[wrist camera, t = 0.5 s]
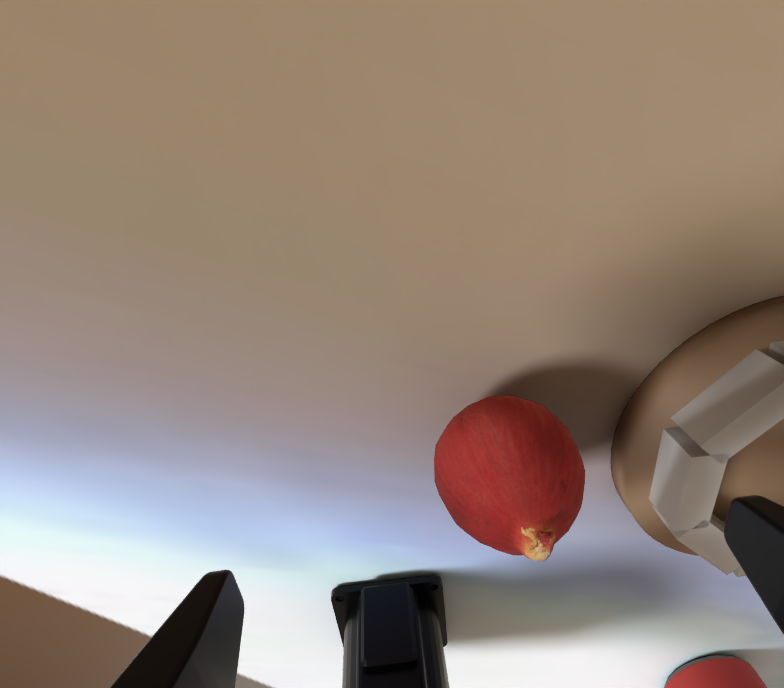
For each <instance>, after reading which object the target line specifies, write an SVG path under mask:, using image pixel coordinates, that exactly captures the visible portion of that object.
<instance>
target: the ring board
mask: <svg viewBox="0 0 784 688" xmlns="http://www.w3.org/2000/svg"><path fill="white" fill-rule="evenodd" d="M611 471H612V478H613V481H614V484H615V488H616V490H617V492H618V494H619V496H620V497H621V499H622V501H623V502H624V504H625V505H626V507H627V508H628V510H629V511H630V513H631V514H632V515H633V517H634V518H635V520H636V521H637V523H638V524H639V525H640V526H641V527H642V529H643V530H644V531H645V532H646V533H647V534H648V535H650V536H651V537H652V538H653V539H655V540H656V541H658V542H660V543H661V544H663V545H665V546H667V547H669V548H672V549H674V550H677V551H680V552H684V553H688V554H692V555H698V556H701V557H702V558H704V559H705V560H707V561H708V562H709V563H711V564H712V565H714V566H715V567H717V568H718V569H719V570H721V571H722V572H724V573H725V574H726V575H728V574H729V573H731V572H734V573H735V575H736V576H737V577H738V576H746V574H745V572H744V571H743V569H742V568H741V566H740V564H739V563H738V561H737V560H736V558H735V556H734V555H733V553H732V551H731V550H730V548H729V547H728V545H727V543H726V540H725V537H724V526H725V522H726V518H727V514H728V510H729V506H730V503H731V501H732V500H733V499H734V498H737V497H743V496H750V495H759V496H762V497H765V498H767V499H769V500H771V501H773V502H776V503H778V504H780V505H782V506H784V296H781V297H776V298H773V299H770V300H766V301H763V302H759V303H756V304H753V305H751V306H748V307H746V308H744V309H741V310H739V311H736V312H734V313H732V314H730V315H728V316H726V317H724V318H722V319H720V320H718V321H716V322H714V323H712V324H711V325H709V326H707V327H706V328H704V329H703V330H701V331H700V332H698V333H697V334H695V335H693V336H692V337H690V338H689V339H688V340H687V341H685V342H684V343H683V344H681V345H680V346H679V347H678V348H676V349H675V350H674V351H672V352H671V353H670V354H669V355H668V356H667V357H666V358H665V359H664V360H663V361H662V362H661V363H660V364H659V365H658V366H657V367H655V369H654V370H653V371H652V372H651V373H650V374H649V376H648V377H647V378H646V379H645V380H644V381H643V383H642V384H641V385H640V387H639V388H638V389H637V391H636V392H635V394H634V395H633V397H632V398H631V399H630V401H629V403H628V405H627V407H626V409H625V410H624V412H623V414H622V416H621V418H620V421H619V424H618V426H617V429H616V432H615V435H614V439H613V444H612V448H611Z"/></svg>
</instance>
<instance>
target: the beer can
mask: <svg viewBox="0 0 784 688" xmlns="http://www.w3.org/2000/svg"><path fill="white" fill-rule="evenodd" d="M664 688H767V687H766V685H765V684H764V683H763V681H762V680H761V678H760V677H759V676H758V674H757V673H756V671H755V670H754V669H753V667H752V666H751V665H750V664H749V663H747V662H745V661H743V660H741V659H738V658H736V657H733V656H725V655H715V656H707V657H703V658H699V659H696V660H693V661H691V662H689V663H687V664H684V665H683V666H681V667H680V668H678V669H677V670H675V671H674V672H673V673H672V674H671V676H670V677H669V678H668V679H667V682H666V684H665V687H664Z"/></svg>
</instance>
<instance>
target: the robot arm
mask: <svg viewBox="0 0 784 688" xmlns="http://www.w3.org/2000/svg"><path fill="white" fill-rule="evenodd" d="M724 537H725V540H726V543H727V545H728V547H729V548H730V550H731V551H732V553H733V555H734V556H735V558H736V560H737V561H738V563H739V564H740V566H741V568H742V569H743V571H744V572H745V574H746V576H747V577H748V579H749V580H750V582H751V584H752V585H753V587H754V588H755V590H756V592H757V593H758V595H759V596H760V598H761V600H762V601H763V603H764V604H765V606H766V608H767V609H768V611H769V612H770V614H771V616H772V617H773V619H774V620H775V622H776V623H777V625H778V626H779V628H780V629H781V631H782V632H783V634H784V506H782V505H780V504H778V503H776V502H773V501H771V500H769V499H767V498H765V497H762V496H759V495H750V496H743V497H737V498H734V499H733V500H732V501H731V503H730V506H729V510H728V514H727V518H726V522H725V526H724ZM331 601H332V605H333V609H334V613H335V616H336V620H337V624H338V628H339V632H340V635H341V639H342V643H343V647H344V656H343V682H342V688H449V682H448V676H447V669H446V663H445V656H444V649H443V647H444V646H446V645H447V632H446V621H445V609H444V598H443V586H442V580H441V578H440V577H439V576H436V575H432V576H424V577H415V578H407V579H399V580H391V581H383V582H375V583H367V584H359V585H350V586H342V587H337V588H334V589H333V590H332V595H331ZM243 618H244V601H243V598H242V595H241V593H240V590H239V588H238V585H237V583H236V580H235V578H234V575H233V573H232V572H231V571H230V570H221V571H214V572H209V573H207V574H206V575H204V576H203V577H202V578H201V580H200V581H199V582H198V583H197V584H196V585H195V587H194V588H193V589H192V590H191V591H190V593H189V594H188V595H187V596H186V597H185V599H184V600H183V601H182V602H181V603H180V604H179V606H178V607H177V608H176V609H175V610H174V612H173V613H172V614H171V615H170V616H169V618H168V619H167V620H166V621H165V622H164V623H163V625H162V626H161V627H160V628H159V629H158V631H157V632H156V633H155V634H154V635H153V636H152V638H151V639H150V640H149V641H148V642H147V644H146V645H145V646H144V647H143V648H142V650H141V651H140V652H139V653H138V654H137V656H136V657H135V658H134V659H133V660H132V661H131V663H130V664H129V665H128V666H127V668H126V669H125V670H124V671H123V672H122V673H121V675H120V676H119V677H118V678H117V679H116V680H115V682H114V683H113V684H112V685H111V686H110V688H235V683H236V675H237V667H238V659H239V651H240V642H241V634H242V626H243Z"/></svg>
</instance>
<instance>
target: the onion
mask: <svg viewBox="0 0 784 688" xmlns="http://www.w3.org/2000/svg"><path fill="white" fill-rule="evenodd" d="M434 470H435V483H436V486H437V489H438V492H439V495H440V497H441V499H442V501H443V502H444V504H445V506H446V508H447V510H448V511H449V513H450V515H451V516H452V518H453V519H454V521H455V522H456V524H457V525H458V526H459V527H460V528H462V529H463V530H464V531H465V532H466V533H468V534H469V535H470V536H472V537H473V538H474V539H476V540H477V541H479V542H480V543H482V544H484V545H487V546H490V547H492V548H494V549H496V550H498V551H501V552H505V553H508V554H511V555H524V556H526V557H527V558H529V559H532V560H537V561H545V560H546V559H547V558H548V557H549V556H550V554H551V552H552V550H553V547H554V544H555V543H556V542H557V541H558V540H559V539H560V538H561V537H562V536H563V535H565V534H566V533H567V532H568V531H569V529H570V527H571V525H572V524H573V522H574V520H575V519H576V517H577V515H578V513H579V511H580V508H581V504H582V500H583V492H584V484H585V469H584V465H583V461H582V458H581V456H580V454H579V451H578V449H577V447H576V445H575V442H574V440H573V438H572V436H571V434H570V432H569V430H568V428H567V427H566V426H565V425H564V424H563V423H562V422H561V421H560V420H559V419H558V418H557V417H555V416H554V415H553V414H552V413H551V412H549V411H548V410H547V409H546V408H545V407H544V406H542V405H541V404H538V403H535V402H531V401H528V400H525V399H521V398H518V397H514V396H511V395H508V396H492V397H487V398H485V399H482V400H480V401H478V402H475V403H473V404H471V405H469V406H467V407H466V408H465V409H464V410H462V411H461V412H460V413H459V414H457V415H456V416H455V417H454V418H453V419H452V420H451V421H450V422H449V424H448V425H447V427H446V428H445V430H444V432H443V433H442V435H441V437H440V439H439V440H438V442H437V444H436V448H435V457H434Z"/></svg>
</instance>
